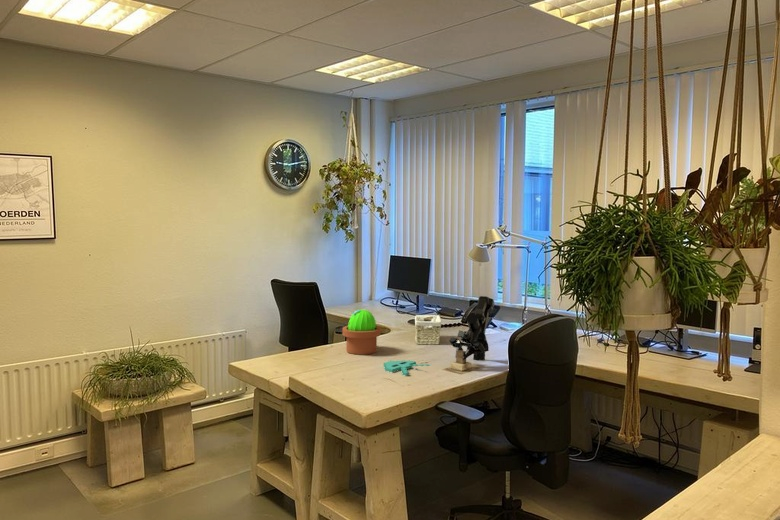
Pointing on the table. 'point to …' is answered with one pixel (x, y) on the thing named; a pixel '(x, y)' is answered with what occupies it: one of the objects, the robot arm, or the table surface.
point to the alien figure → (400, 366)
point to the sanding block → (460, 362)
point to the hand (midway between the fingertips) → (459, 358)
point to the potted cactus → (361, 333)
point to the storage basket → (427, 329)
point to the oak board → (462, 371)
